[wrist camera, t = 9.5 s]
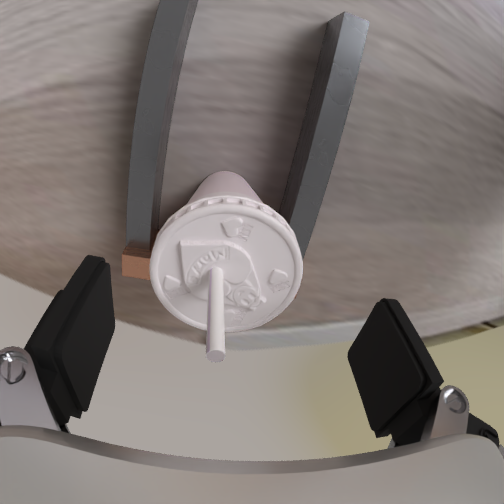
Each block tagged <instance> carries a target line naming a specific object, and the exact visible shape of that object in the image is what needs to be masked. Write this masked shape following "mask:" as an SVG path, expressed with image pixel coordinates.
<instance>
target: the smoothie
mask: <svg viewBox="0 0 504 504" xmlns="http://www.w3.org/2000/svg"><path fill="white" fill-rule="evenodd" d="M302 275H303V261H302V255H301V252H300V248H299V245H298V242H297V239H296V236H295V233H294V231H293V230H292V229H291V227H290V226H289V225H288V223H287V222H286V220H285V219H284V218H283V217H282V216H281V215H280V214H278V213H277V212H276V211H274V210H273V209H272V208H270V207H269V206H268V205H266V204H264V203H263V202H262V201H261V199H260V198H259V197H258V196H257V194H256V193H255V192H254V190H253V189H252V188H251V187H250V185H249V184H248V183H247V182H246V180H245V179H244V178H243V177H241V176H240V175H238V174H236V173H234V172H230V171H220V172H216V173H213V174H211V175H209V176H208V177H207V178H206V179H205V180H204V181H203V182H202V183H201V185H200V186H199V187H198V189H197V190H196V192H195V193H194V194H193V196H192V197H191V199H190V200H189V201H188V203H187V204H186V205H185V206H184V207H182V208H181V209H180V210H178V211H177V212H176V213H175V214H173V215H172V216H171V217H170V218H169V219H168V220H167V221H166V223H165V224H164V225H163V227H162V228H161V230H160V231H159V233H158V234H157V237H156V240H155V244H154V247H153V250H152V254H151V258H150V279H151V283H152V287H153V289H154V292H155V294H156V296H157V297H158V299H159V301H160V302H161V303H162V305H163V306H164V307H165V308H166V309H167V310H168V311H169V312H170V313H171V314H172V315H174V316H175V317H176V318H178V319H179V320H181V321H183V322H184V323H186V324H188V325H191V326H193V327H196V328H199V329H202V330H206V331H207V333H206V358H207V359H208V360H209V361H211V362H221V361H223V360H224V359H225V333H230V332H240V331H245V330H249V329H253V328H255V327H258V326H261V325H263V324H265V323H267V322H269V321H270V320H272V319H274V318H275V317H277V316H278V315H279V314H280V313H281V312H283V311H284V310H285V309H286V308H287V306H288V305H289V304H290V303H291V302H292V300H293V299H294V297H295V295H296V294H297V292H298V289H299V287H300V284H301V280H302Z"/></svg>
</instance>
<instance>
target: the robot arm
mask: <svg viewBox="0 0 504 504" xmlns="http://www.w3.org/2000/svg"><path fill="white" fill-rule="evenodd" d="M114 329H115V318H114V309H113V299H112V288H111V274H110V264H109V263H105V259H104V258H103V257H97V256H92V255H87V256H86V257H85V259H84V260H83V262H82V263H81V265H80V266H79V267H78V269H77V270H76V272H75V273H74V275H73V276H72V278H71V279H70V281H69V282H68V284H67V285H66V287H65V288H64V290H60V291H59V292H58V293H57V294H56V296H55V297H54V299H53V300H52V302H51V304H50V305H49V307H48V309H47V310H46V312H45V313H44V315H43V317H42V318H41V320H40V322H39V323H38V325H37V327H36V328H35V330H34V332H33V334H32V335H31V337H30V339H29V341H28V342H27V344H26V346H25V348H24V349H22V348H20V347H14V346H12V347H7V348H4V349H2V350H0V504H504V448H503V446H502V445H499V438H498V434H497V432H496V430H495V429H493V428H492V427H491V426H490V425H488V424H486V423H484V422H483V421H482V420H480V419H479V418H477V417H475V416H474V415H472V414H471V413H469V402H468V399H467V397H466V396H465V394H464V393H463V392H462V391H461V390H460V389H459V388H456V387H454V386H450V385H448V386H445V387H444V388H443V389H442V390H440V388H439V386H440V385H441V384H442V383H443V382H444V380H443V378H442V376H441V375H440V373H439V371H438V369H437V367H436V365H435V363H434V361H433V360H432V358H431V356H430V354H429V353H428V351H427V349H426V347H425V345H424V343H423V342H422V340H421V338H420V336H419V335H418V333H417V331H416V330H415V328H414V326H413V325H412V323H411V321H410V320H409V318H408V316H407V315H406V313H405V311H404V310H403V308H402V306H401V305H400V303H399V302H398V301H397V300H395V299H386V298H383V299H381V300H380V302H377V303H376V305H375V306H374V308H373V310H372V312H371V314H370V315H369V317H368V319H367V321H366V322H365V324H364V326H363V327H362V329H361V331H360V333H359V334H358V336H357V338H356V339H355V341H354V343H353V344H352V346H351V347H350V349H349V351H348V361H349V363H350V366H351V369H352V372H353V375H354V378H355V381H356V384H357V387H358V390H359V393H360V396H361V399H362V402H363V405H364V408H365V411H366V415H367V418H368V421H369V424H370V427H371V429H372V430H373V431H374V432H375V435H376V438H379V437H385V436H388V435H389V434H391V435H392V439H391V441H390V444H389V446H388V449H384V450H379V451H374V452H368V453H362V454H356V455H349V456H340V457H332V458H323V459H311V460H296V461H228V460H211V459H200V458H190V457H182V456H174V455H167V454H161V453H155V452H149V451H144V450H138V449H132V448H128V447H123V446H118V445H113V444H109V443H105V442H101V441H97V440H93V439H89V438H86V437H81V436H77V435H73V434H71V433H70V431H69V429H68V427H67V425H66V423H68V422H69V419H70V416H73V417H76V418H79V419H80V418H81V414H82V411H84V412H86V411H87V410H88V408H89V404H90V401H91V398H92V395H93V391H94V388H95V385H96V382H97V379H98V375H99V373H100V370H101V367H102V364H103V361H104V358H105V355H106V352H107V350H108V347H109V344H110V341H111V338H112V336H113V333H114Z"/></svg>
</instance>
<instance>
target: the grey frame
mask: <svg viewBox="0 0 504 504" xmlns="http://www.w3.org/2000/svg"><path fill="white" fill-rule="evenodd" d="M197 2H198V0H160V3H159V7H158V10H157V14H156V17H155V21H154V25H153V29H152V33H151V37H150V41H149V45H148V50H147V54H146V59H145V63H144V68H143V73H142V79H141V84H140V90H139V96H138V102H137V108H136V115H135V122H134V130H133V138H132V147H131V157H130V168H129V181H128V197H127V220H126V248H125V249H124V251H123V253H122V276H127V277H134V278H140V279H147V280H151V279H150V258H151V254H152V250H153V247H154V244H155V240H156V237H157V234H158V233H159V231H160V230H158V222H159V210H160V200H161V190H162V181H163V173H164V165H165V157H166V150H167V143H168V136H169V130H170V124H171V118H172V112H173V106H174V101H175V95H176V90H177V85H178V80H179V75H180V70H181V66H182V61H183V57H184V52H185V48H186V44H187V40H188V36H189V32H190V28H191V24H192V20H193V17H194V13H195V9H196V6H197ZM368 27H369V21H367V20H365V19H363V18H360V17H358V16H355V15H353V14H350V13H348V12H343V13H341V14H340V15H338V16H336V17H334V18H333V19H331V20H329V21H328V24H327V29H326V33H325V37H324V41H323V45H322V49H321V53H320V57H319V62H318V66H317V70H316V74H315V78H314V82H313V86H312V90H311V94H310V98H309V102H308V106H307V109H306V113H305V117H304V121H303V125H302V129H301V133H300V137H299V141H298V144H297V148H296V152H295V156H294V160H293V164H292V167H291V171H290V175H289V179H288V182H287V186H286V190H285V194H284V197H283V201H282V205H281V209H280V212H279V214H280V215H281V216H282V217H283V218H284V219H285V220H286V222H287V223H288V225H289V226H290V227H291V229H292V230H293V231H294V233H295V236H296V239H297V242H298V245H299V248H300V252H301V255H302V261H303V258H304V255H305V252H306V249H307V246H308V243H309V240H310V237H311V234H312V231H313V228H314V225H315V222H316V219H317V216H318V212H319V209H320V206H321V203H322V200H323V197H324V193H325V190H326V187H327V184H328V180H329V177H330V174H331V170H332V167H333V164H334V160H335V157H336V153H337V150H338V146H339V143H340V139H341V136H342V132H343V128H344V125H345V121H346V117H347V114H348V110H349V106H350V102H351V99H352V95H353V91H354V87H355V83H356V79H357V75H358V71H359V67H360V62H361V58H362V54H363V50H364V45H365V41H366V36H367V32H368ZM301 282H302V280H301ZM298 290H299V289H298ZM297 293H298V292H297ZM296 295H297V294H296ZM296 295H295V297H294V298H296Z"/></svg>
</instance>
